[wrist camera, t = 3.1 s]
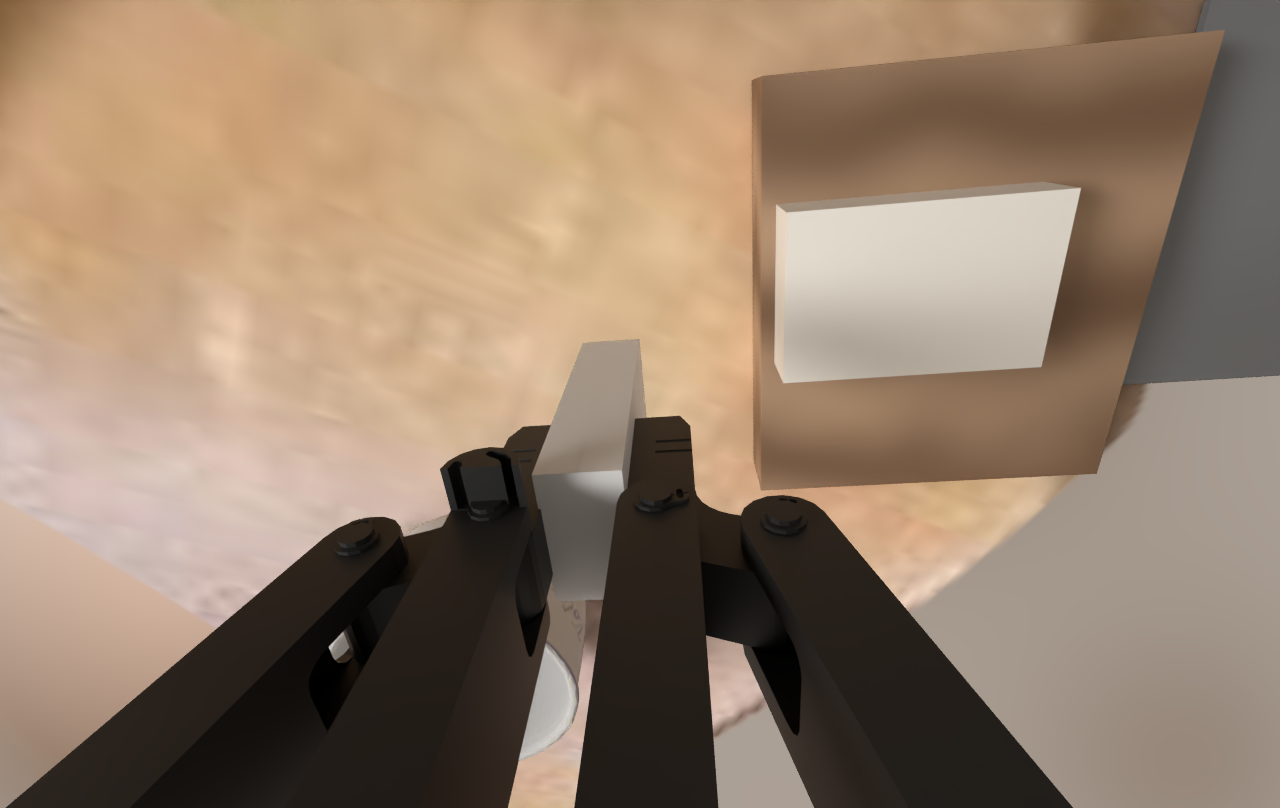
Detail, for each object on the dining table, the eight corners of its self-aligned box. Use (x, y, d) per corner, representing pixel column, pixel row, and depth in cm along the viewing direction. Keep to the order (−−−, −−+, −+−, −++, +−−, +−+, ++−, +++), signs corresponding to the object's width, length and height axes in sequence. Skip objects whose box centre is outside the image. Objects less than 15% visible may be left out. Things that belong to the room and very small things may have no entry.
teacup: (633, 541, 31) (623, 670, 24) (543, 665, 35) (511, 808, 28) (378, 418, 28) (279, 522, 21) (314, 569, 32) (214, 698, 25)
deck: (752, 80, 21) (762, 76, 19) (1163, 39, 20) (1224, 29, 18) (753, 460, 28) (761, 490, 26) (1061, 444, 27) (1096, 473, 25)
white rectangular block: (776, 204, 21) (786, 212, 19) (1044, 181, 20) (1081, 187, 18) (774, 362, 23) (783, 383, 22) (1011, 347, 23) (1041, 366, 21)
